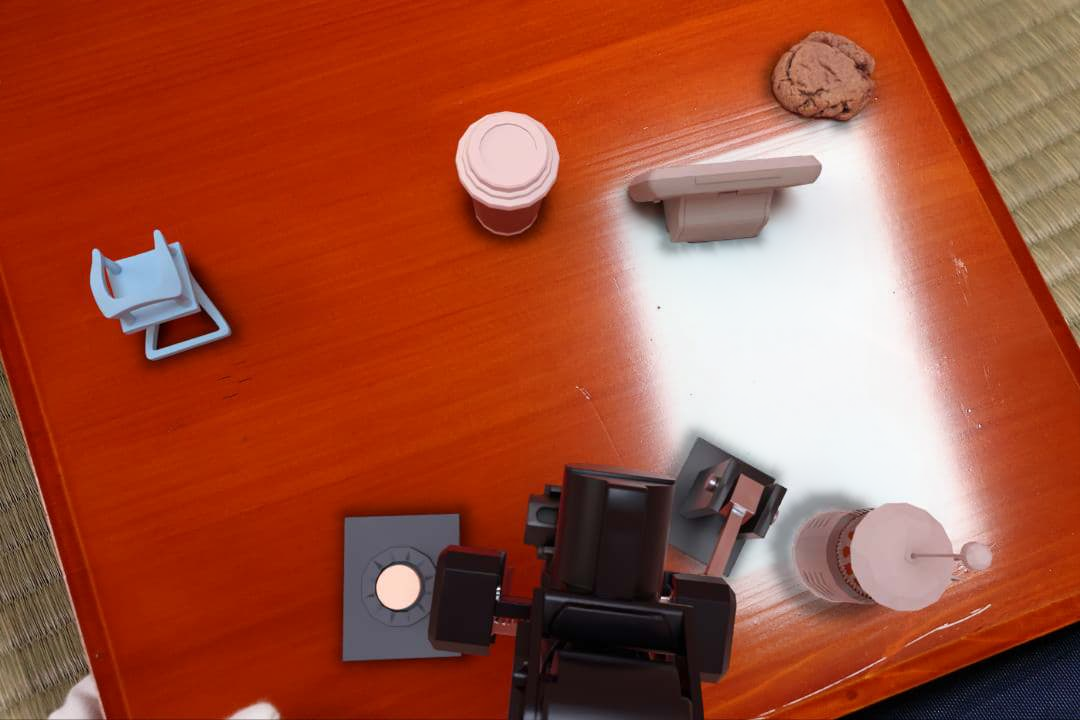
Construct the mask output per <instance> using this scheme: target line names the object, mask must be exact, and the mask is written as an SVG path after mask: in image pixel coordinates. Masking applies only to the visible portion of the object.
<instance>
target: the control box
mask: <svg viewBox="0 0 1080 720" xmlns="http://www.w3.org/2000/svg"><path fill="white" fill-rule="evenodd" d="M343 538H344V542H343V545H344V546H343V601H342V603H343V607H342V609H343V610H342V611H343V612H342V662H356V661H357V662H358V661H383V660H384V661H385V660H405V659H407V660H408V659H432V658H453V657H454V658H455V657H461V656H462V654H463V653H456V652H448V651H439V650H435V649H434V648H433V646H432V645H431V643H430V642H429V640H428V627H429V619H430V611H431V603H432V595H433V588H434V580H435V572H436V566H437V560H438V556H439V554H440V552H441V551H442V550H444V549H445V548H446V547H448V546H449V545H458V546H461V514H460V513H432V514H431V513H430V514H405V515H373V516H372V515H371V516H345V517H344V537H343ZM394 565H407V566H410V567H412V568H413V569H414V570H415V571H416V572H417V573H418V574H419V576H420V579H421V583H422V589H421V593H420V595H419V597H418V599H417V600H416V601H415V602H414V603H413V604H412V605H410V606H409V607H407V608H404V609H399V610H395V609H391V608H388V607H387V606H385V605H384V604H383V603H382V602H381V601H380V599H379V597H378V595H377V589H376V587H377V581H378V579H379V577H380V575H381V574H382V572H383V571H384V570H386V569H387V568H389V567H391V566H394Z"/></svg>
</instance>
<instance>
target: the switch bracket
mask: <svg viewBox="0 0 1080 720" xmlns="http://www.w3.org/2000/svg"><path fill="white" fill-rule="evenodd" d="M740 474H743V475H745V476H746V477H748V478H750V479H752V480H754V481H755V482H757V483H759V484H761V485H763V486H764V490H763V493H762V496H761V499H760V501H759V504H758V507H757V510H756V512H755V515H753V516H752V517H751V518H750V519H749V520H748V521H747V522H745V523H744V524H743V525H741V526H740V529H739V531H738V534H737V537H736V539H735V542H734V545H733V548H732V550H731V553H730V556H729V558H728V561H727V564H726V566H725V569H724V572H723V575H722V576H724V577H726V578H729V577H730V575H731V573H732V571H733V568H734V566H735V564H736V562H737V560H738V559H739V556H740V554H741V552H742V550H743V548H744V546H745V544H746V542H747V541H748V540H761V539H762V540H763V539H765V537H766V536H767V533H768V531H769V529H770V527H771V526H772V525H773V524H775V522H776V521H777V518H778V517H779V514H780V510H779V508H780V506H781V504H782V502H783V500H784V498H785V496H786V493H787V492H788V488H786V487H785V486H783V485H781V484H779V483H777V482H776V478H775V477H772V476H770V475H769V474H767V473H766V472H764V471H762V470H760V469H758V468H757V467H755V466H752V464H749V463H747V462H745V461H744V460H742V459H740V458H738V457H736V456H735V455H733V454H731V453H729V452H728V451H725V450H723V449H722V448H720V447H718V446H716V445H714V444H713V443H711V442H709V441H707V440H706V439H704V438H702V437H700V436H698V437H696V440H695V442H694V444H693V446H692V447H691V449H690V451H689V454H688V456H687V457H686V459H685V461H684V462H683V465H682V467H681V468H680V471H679V473H678V475H677V477H676V478H675V480H676V483H675V491H674V499H673V507H672V515H671V523H670V531H669V539H668V546H670V547H672V548H674V549H676V550H678V551H679V552H681V553H682V554H684V555H686V556H689V557H690V558H692V559H694V560H695V561H697V562H699V563H701V564H703V565H705V566H706V567H707V565H708V562H709V560H710V557H711V554H712V552H713V549H714V547H715V544H716V541H717V539H718V536H719V534H720V531H721V528H722V526H723V523H724V521H725V518H726V516H724V515H723V514H721V513H719V511H720V509H721V507H722V505H723V503H724V501H725V499H726V497H727V495H728V493H729V491H730V489H731V487H732V485H733V483H734V481H735V479H736V478H737V477H738V476H739V475H740ZM775 482H776V483H775Z"/></svg>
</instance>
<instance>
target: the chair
mask: <svg viewBox="0 0 1080 720" xmlns="http://www.w3.org/2000/svg"><path fill="white" fill-rule="evenodd" d="M153 239H154V240H153V241H154V249H152V250H148V251H146V252H142V253H139V254H136V255H132V256H128V257H126V258H122V259H118V260H115V261H113V260H112V259H110V258H108V257H106V256H104V255H103V253H102V252H101V251H100V250H99V249H98V248H94V249H92V252H91V253H92V255H91V257H92V260H91V261H92V263H91V267H90V274H89V275H90V277H89V284H90V288H91V292H92V295H93V298H94V300H95V302H96V304H97V306H98V308H99V310H100V311H101V313H102V315H103V316H104V317H105V318H107V319H115V320H119V321H120V326H121V329H122V333H124V334H125V335H127V336H128V335H132V334H134V333H137V332H138V333H139V332H140V331H143V330H146V331H145V332H146V333H145V356H146V358H147V359H148V360H150V361H158V360H162V359H165V358H168V357H171V356H174V355H177V354H180V353H183V352H185V351H188V350H192V349H194V348H198V347H201V346H204V345H207V344H210V343H213V342H216V341H219V340H222V339H225V338H228V337H230V336H231V335H232V330H231V327H230V325H229V323H228V322H227V320H226V319H225V318H224V316H223V315H222V313H221V312H220V310H218V308H217V306H215V304H214V303H213V301H212V300H211V299H210V298H209V297H208V295H207V294H206V292H205V291H204V290H203V289H202V287H201V286H200V284H199V283H198V282H197V280H196V279H195V277H194V275H193V274H192V271H190V266H189V263H188V260H187V257H186V254H185V252H184V249H183V245H182V243H180V242H179V241H176V242H172V243H170V244H168V241H167V239H166V237H165V236H164V234H163V233H162V232H161V231H160V230H159V229H155V230H154V231H153ZM105 269H106V272H105ZM105 273H107V277H108V280H109V284H110V287H111V290H112V294H113V296H112V294H111V292H110V290H109V288H108V284H107V280H106V275H105ZM201 307H202V308H203V310H205V312H206V313H207V315H209V316H210V318H211V319H212V320H213V321H214V322H215V324H216V325H217V326H218V328H219V329H218V330H216V331H214V332H211V333H207V334H204V335H201V336H197V337H195V338H191V339H188V340H185V341H182V342H178V343H175V344H171V345H169V346H165V347H163V348H159V349H157V347H158V345H157V344H158V337H159V329H160V324H163V323H166V322H170V321H172V320H176V319H180V318H183V317H187V316H190V315H194V314H197V313H200V312H202V310H201Z"/></svg>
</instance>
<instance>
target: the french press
mask: <svg viewBox="0 0 1080 720" xmlns="http://www.w3.org/2000/svg"><path fill="white" fill-rule="evenodd" d="M791 552H792V566H793V568H794V570H795V572H796V574H797V576H798V578H799V580H800V582H801V584H802V585H803V586H804V587H805V588H806V589H807V590H809V591H810V593H812V594H813V595H814V596H815V597H817V598H820V599H822V600H825V601H828V602H830V603H853V604H860V605H881V606H883V607H886V608H890V609H891V610H894V611H896V612H915V611H916V612H917V611H921V610H922V609H925V608H926V607H929V606H931V605H933V604H935V603H937V601H938V600H939V599H940V598H941V596H942V595H943V594H944V593H945V591H947V589H948V588H949V586H950V585H951V582H960V581H962V579H961V577H960V576H957V575H954V574H953V573H954V569H955V562H960V561H961V563H962V564H963V567H965V568H966V569H968V570H970V571H985V570H986V569H988V568H989V567H991V565H992V561H993V556H994V555H993V553H992V551H991V550H990V548H989V546H988V545H986V544H984V543H982V542H980V541H977V540H974V541H969V542H966V543H964V544H963V546H962V547H961V549H960V552H959V553H954V548H953V543H952V542H951V539H950V538H949V536H948V534H947V532H946V530H945V528H944V526H943V525H942V523H941V522H940V521H939V520H937V519H936V518H935V517H934V516H933V515H932V514H930V512H929V511H927V510H926V509H923V508H921V507H918V506H916V505H913V504H911V503H908V502H886V503H883V504H882V505H880V506H878V507H876V508H875V507H865V508H858V509H856V508H855V509H849V510H822V511H821V512H820V511H819V512H818V513H816V514H814V515H812V516H809V517H808V518H807V519H806V520H805V521H804V522H803V523H802V524H801V526H800V527H799V528H798V529H797V531H796V533H795V536H794V540H793V542H792V546H791Z"/></svg>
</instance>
